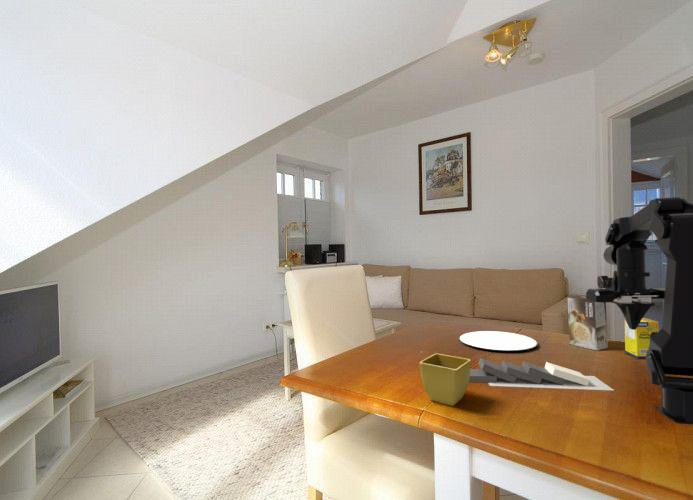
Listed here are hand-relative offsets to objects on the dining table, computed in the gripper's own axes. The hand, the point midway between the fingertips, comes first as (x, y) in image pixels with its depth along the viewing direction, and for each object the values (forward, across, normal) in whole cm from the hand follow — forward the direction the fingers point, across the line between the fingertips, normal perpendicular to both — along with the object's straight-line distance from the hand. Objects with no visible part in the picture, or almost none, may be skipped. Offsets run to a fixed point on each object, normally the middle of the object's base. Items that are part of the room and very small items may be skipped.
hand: (632, 329), depth 88 cm
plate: (+13, +26, -30) cm, 42 cm away
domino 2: (+11, +30, +6) cm, 33 cm away
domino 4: (+11, +20, +6) cm, 23 cm away
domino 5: (+11, +14, +6) cm, 19 cm away
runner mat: (+12, +23, +6) cm, 27 cm away
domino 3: (+11, +25, +6) cm, 28 cm away
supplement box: (+12, -12, -18) cm, 25 cm away
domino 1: (+11, +35, +6) cm, 37 cm away
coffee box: (+12, -2, -28) cm, 31 cm away
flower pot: (+12, +48, +19) cm, 53 cm away
